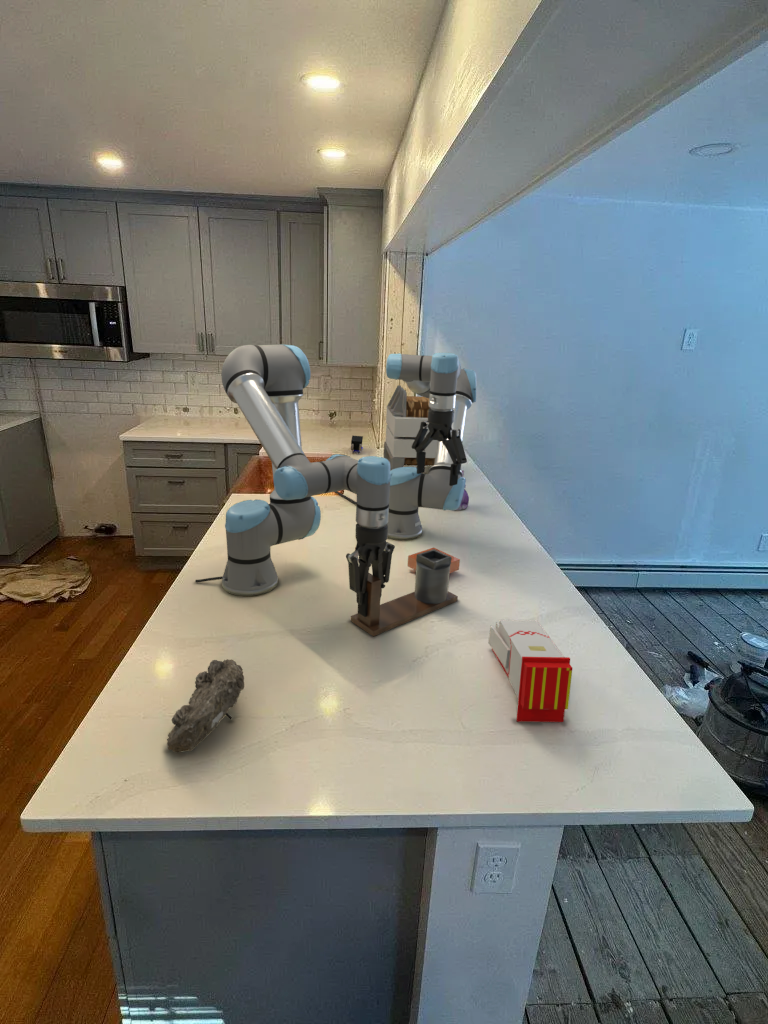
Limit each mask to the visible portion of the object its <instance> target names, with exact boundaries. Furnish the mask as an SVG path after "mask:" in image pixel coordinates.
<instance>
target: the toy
mask: <svg viewBox="0 0 768 1024" xmlns="http://www.w3.org/2000/svg"><path fill="white" fill-rule="evenodd" d="M488 646H490V648H491V651H492V653H493V655H494V656H495V658H496V660H497V661H498V663H499V665H500V666H501V668H502V670H503V672H504V673H505V676H506V678H508V681H509V683H510V685H511V687H512V689H513V692H514V694H515V695H516V697H517V708H516V709H517V710H516V722H519V723H520V722H521V723H522V722H523V723H525V722H526V723H564V720H565V712H566V710H569V704H570V703H569V702H570V695H571V685H572V677H573V667H572V665H571V658H570V657H568V656H567V657H566V656H564V654H563V653H562V652H561V650H560V649H559V648H558V646H557V645H556V644H555V642H554V641H553V640H552V638H551V637H550V636H549V634H548V633H547V631H546V630H545V629H544V626H543V625H541V624H540V622H539V620H536V619H535V620H531V619H528V620H527V619H499V620H498V622H495V626H494V625H490V627H489V635H488Z"/></svg>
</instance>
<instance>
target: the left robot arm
mask: <svg viewBox="0 0 768 1024" xmlns="http://www.w3.org/2000/svg"><path fill="white" fill-rule="evenodd" d="M220 375H221V376H220V377H221V385H222V387H223V390H224V392H225V394H226V395H227V397H228V399H229V400H230V402H232V403H234V404H237V406H238V407H239V409H240V411H241V413H242V414H243V416H244V418H245V420H246V422H247V423H248V425H249V426H250V428H251V429H252V431H253V433H254V435H255V436H256V438H257V440H258V441H259V443H260V445H261V446H262V448H263V450H264V452H265V453H266V455H267V457H268V458H269V460H270V461H271V466H272V467H271V469H272V479H273V491H272V492H271V493H270V494H269V495H268V497H269V502H267V501H266V500H263V499H246V500H243V501H239V502H236V503H234V504H233V505H231V506H230V507H229V508H228V509H227V511H226V513H225V523H224V529H225V538H226V539H225V541H226V555H227V561H226V564H225V567H224V571H223V573H222V576H215V577H214V576H213V577H207V578H200V579H195V581H194V582H195V583H204V582H209V581H210V582H211V581H219V580H221V584H222V589H223V590H224V591H225V592H227V593H228V594H232V595H235V596H241V597H253V596H258V595H263V594H266V593H269V592H270V591H272V590H274V589H275V588H276V587H277V586H278V584H279V577H278V576H279V575H278V573H277V570H276V567H275V564H274V562H273V560H272V557H271V547H273V546H276V545H282V544H285V543H289V542H294V541H297V540H298V541H300V540H304V539H306V538H308V537H311V536H313V535H315V534H316V532H317V531H318V530H319V528H320V524H321V520H322V516H321V508H320V507H321V506H319V502H318V501H317V499H316V498H315V496H318V495H324V494H330V493H335V492H336V491H337V492H340V491H348V492H350V493H352V494H355V495H356V501H355V502H356V504H355V505H356V507H355V522H356V524H355V540H356V545H355V548H354V551H353V552H351V553H346V554H345V559H346V560H347V565H348V582H349V585H348V586H349V590H351V591H352V592H354V593H355V594H356V600H355V601H356V603H357V613H359V614H361V615H362V616H364V617H367V610H368V592H367V591H366V585H367V579H368V573H370V567H371V572H372V573H371V574H372V575H374V576H376V577H377V578H379V579H381V595H380V599H381V598H382V592H383V590H382V589H385V587H386V584H387V583H389V581H390V574H391V568H392V567H391V566H392V557H393V553H394V551H395V547H396V545H395V544H392V543H390V542H388V541H387V540H388V538H387V536H388V525H387V523H388V513H389V494H390V480H391V475H390V462H389V461H388V460H387V459H385V458H384V456H376V455H368V456H367V455H366V456H362V457H360V458H359V459H356V458H353V457H351V456H349V455H346V454H340V453H335V454H332V455H331V456H329V457H327V458H326V460H322V461H314V462H313V461H312V462H311V461H310V459H309V458H308V457H307V455H306V454H305V452H304V451H303V447H302V446H303V445H302V433H301V420H300V408H299V401H300V400H301V399H302V397H303V396H304V389H305V388H306V387H308V385H309V384H310V380H311V375H312V374H311V367H310V362H309V360H308V357H307V355H306V353H304V352H303V350H302V349H301V348H300V347H298V346H296V345H291V344H283V343H281V344H245V345H240V346H238V347H236V348H234V349H233V350H232V351H230V353H228V355H227V356H226V358H225V360H224V361H223V364H222V368H221V374H220ZM385 583H386V584H385Z"/></svg>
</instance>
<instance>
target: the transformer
mask: <svg viewBox="0 0 768 1024" xmlns="http://www.w3.org/2000/svg"><path fill="white" fill-rule="evenodd" d="M407 394H408V393H407V390H406V389H404V388H403V387H402V385H399V384H398V385H397V386H396V388H395V390H394V392H393V394H392V395H391V398H390V400H389V402H388V404H387V405H386V413H385V414H386V415H385V423H386V428H385V438H384V442H383V458H385V459H387V460H388V461H389V462H390V471H391V470H393V469H396V468H400V467H405V466H406V467H417V462H416V454H417V452H416V450H415V449H412V444H413V442H414V440H415V438H416V436H417V434H418V432H419V429H420V425H421V422H423V421H428V410H429V409H430V407H429V398H425V397H423V396H419V395H418V396H415V395H414V396H413V395H412V396H411V395H407ZM429 432H430V431H429V429H428V431H427V433H426V435H427V434H428V433H429ZM426 435H425V437H424V439H425V438H426ZM424 439H423V440H424ZM437 442H438V440H432V442H431V443H430V444H429V445H428V446H427V447H426V449H425V451H423V452H426V456H425V467H432V466H434V462H435V456H436V449H437ZM463 442H464V440H462V444H464V443H463ZM460 470H461V471H462V466H461V467H460Z"/></svg>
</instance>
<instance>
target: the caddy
mask: <svg viewBox="0 0 768 1024" xmlns="http://www.w3.org/2000/svg"><path fill="white" fill-rule="evenodd" d="M440 551H441V550H440ZM440 551H437V550H435V549H432V550H429V551H426V552H423V553H420V554H417V556H416V561H417V564H416V570H415V578H414V591H413V592H410V593H408V594H405V595H402V596H400V597H397V598H394V599H392V600H389V601H386V602H383V603H381V598H380V595H381V579H379V578H377V577H376V576H374V575H373V573H371V572H369V573H368V579H367V585H366V591H367V592H368V610H367V617H364V616H362V615H361V614H359V613H358V612H356V613H355V614H352V615H350V622H351V623H353V624H354V625H356V626H357V627H359V628H360V629H361V630H363V631H365V632H366V633H368V635H370V636H371V637H376V636H378V635H381V634H383V633H385V632H388V631H390V630H392V629H394V628H397V627H400V626H402V625H404V624H406V623H409V622H411V621H414V620H416V619H418V618H420V617H423V616H425V615H428V614H431V613H432V612H435V611H437V610H439V609H442V608H444V607H447V606H449V605H451V604H454V603H456V602H458V600H459V599H458V598H459V597H458V596H459V595H457V594H455V593H452V592H451V591H449V584H450V583H449V582H450V574H451V573H450V564H451V558H452V557H450V556H448V555H446V554H444V553H442V552H440ZM381 596H382V595H381Z"/></svg>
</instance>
